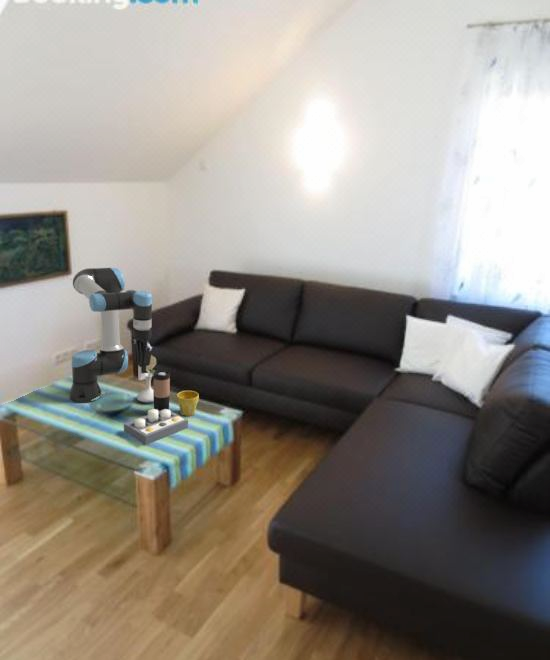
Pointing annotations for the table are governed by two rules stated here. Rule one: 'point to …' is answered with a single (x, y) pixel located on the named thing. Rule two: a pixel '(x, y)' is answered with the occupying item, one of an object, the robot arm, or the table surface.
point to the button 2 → (152, 416)
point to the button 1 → (139, 423)
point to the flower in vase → (148, 383)
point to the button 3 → (165, 413)
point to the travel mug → (161, 390)
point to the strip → (162, 425)
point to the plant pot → (187, 402)
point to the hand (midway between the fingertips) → (141, 378)
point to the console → (155, 435)
